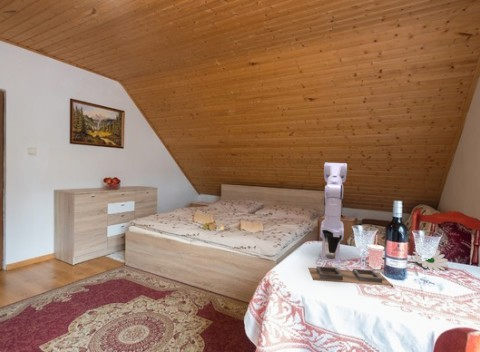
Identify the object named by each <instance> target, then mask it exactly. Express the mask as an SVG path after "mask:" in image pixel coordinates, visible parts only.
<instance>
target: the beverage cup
mask: <svg viewBox="0 0 480 352" xmlns="http://www.w3.org/2000/svg"><path fill="white" fill-rule="evenodd" d="M375 236H376V237H375V244H371V245H370V244H368V245H367V246H368V266H369V267H370V268H371V269H372V270H382V269H381V268H382V265H383V264H382V262H383V259H382V258H384V256H383V254H384V250H385V247H384V246H383V245H379V244H378V234H376V235H375Z"/></svg>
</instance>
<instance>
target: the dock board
mask: <svg viewBox="0 0 480 352" xmlns="http://www.w3.org/2000/svg"><path fill="white" fill-rule="evenodd" d="M308 271H309V273H310V276H311V278H312V280H313V281H321V282H332V283H347V284H348V283H349V284H357V285H358V284H361V285H371V286H373V285H375V286H385V287H388V286H390V287H391V288H394V285H393V284H392V283H391V282H390V281H389V280H387V278H386V277H384V275H382V274H381V272H378V271H375V269H362V268H360V269H359V268H352V270H350V269H349V270H347V269H338V267H331V266H330V267H329V266H316V267H308Z"/></svg>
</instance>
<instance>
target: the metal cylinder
mask: <svg viewBox="0 0 480 352" xmlns="http://www.w3.org/2000/svg"><path fill="white" fill-rule="evenodd" d="M325 257H326V258H328V259H336V252H335V253H329V248H328V240H327V237H326V245H325Z"/></svg>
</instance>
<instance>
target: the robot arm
mask: <svg viewBox="0 0 480 352" xmlns="http://www.w3.org/2000/svg"><path fill="white" fill-rule="evenodd" d="M323 167H324V168H323V178H324V181H325V182H326V185H325V186H324V204H325V205H324V219H323V220H322V221H321V223H320V224H321V225H320V234H319V237H320V238H321V239H322V241H321V253H319V257H320V258H321V260H322V261H323V262H332V263H343V261H342V260H341V258H340V251H341V249H340V247H341V241H344V234H345V233H344V231H345V228H344V226H345V225H344V222H343V221H341V217H342V215H341V213H342V200H343V198H344V185H343V183H345V182H346V180H347V175H348V174H347V173H348V164H347V163H346V162H327V161H326V162H324V164H323ZM326 237H327V240H328V248H329V253H335V252H336V259H328V258H326V257H325V245H326Z"/></svg>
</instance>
